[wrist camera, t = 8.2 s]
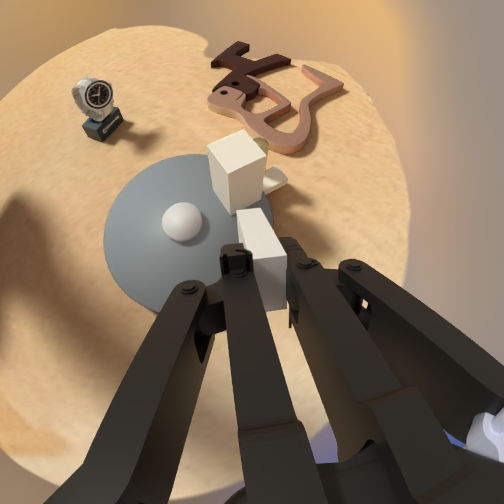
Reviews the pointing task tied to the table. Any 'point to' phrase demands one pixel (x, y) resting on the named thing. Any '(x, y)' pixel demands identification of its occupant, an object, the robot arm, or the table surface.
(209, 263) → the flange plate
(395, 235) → the table surface
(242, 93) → the wood carving
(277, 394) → the robot arm
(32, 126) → the table surface
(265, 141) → the gold domed cylinder
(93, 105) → the watch
